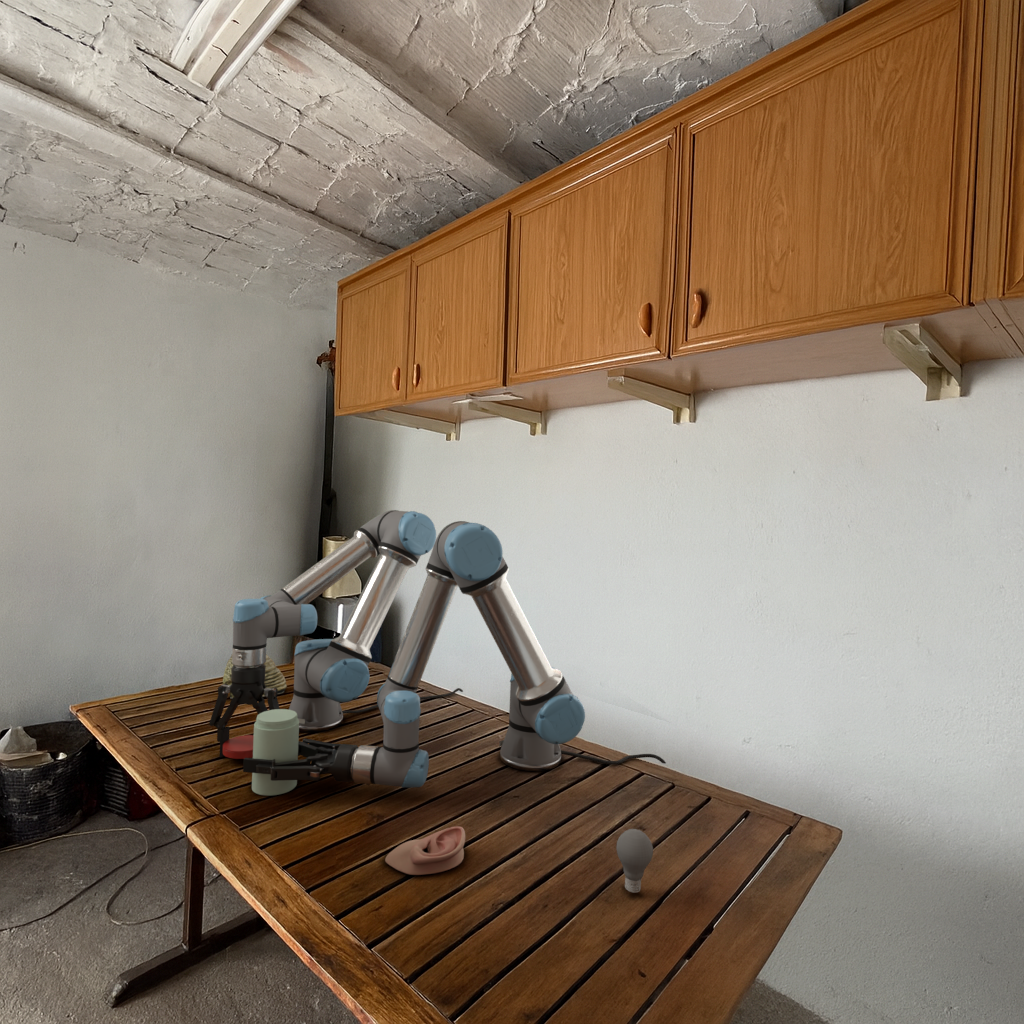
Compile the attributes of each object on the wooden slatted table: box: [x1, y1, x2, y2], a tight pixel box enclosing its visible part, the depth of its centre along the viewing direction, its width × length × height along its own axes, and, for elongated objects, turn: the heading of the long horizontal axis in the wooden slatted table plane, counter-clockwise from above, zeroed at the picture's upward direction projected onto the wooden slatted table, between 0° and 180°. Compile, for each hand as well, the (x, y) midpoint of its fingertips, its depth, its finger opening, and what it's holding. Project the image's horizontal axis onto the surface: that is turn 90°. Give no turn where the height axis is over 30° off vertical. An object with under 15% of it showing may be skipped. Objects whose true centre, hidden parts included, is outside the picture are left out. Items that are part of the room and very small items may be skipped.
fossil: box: [222, 653, 288, 699], centre depth 198 cm, size 9×18×15 cm, turn 132°
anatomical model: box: [384, 826, 466, 876], centre depth 113 cm, size 13×4×12 cm
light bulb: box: [615, 828, 654, 894], centre depth 106 cm, size 6×6×10 cm
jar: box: [251, 708, 300, 796], centre depth 138 cm, size 9×9×16 cm
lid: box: [223, 734, 254, 760], centre depth 151 cm, size 10×10×2 cm
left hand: (245, 757), depth 151 cm, fingers closed on lid, 10 cm apart
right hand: (255, 755), depth 138 cm, fingers closed on jar, 9 cm apart
